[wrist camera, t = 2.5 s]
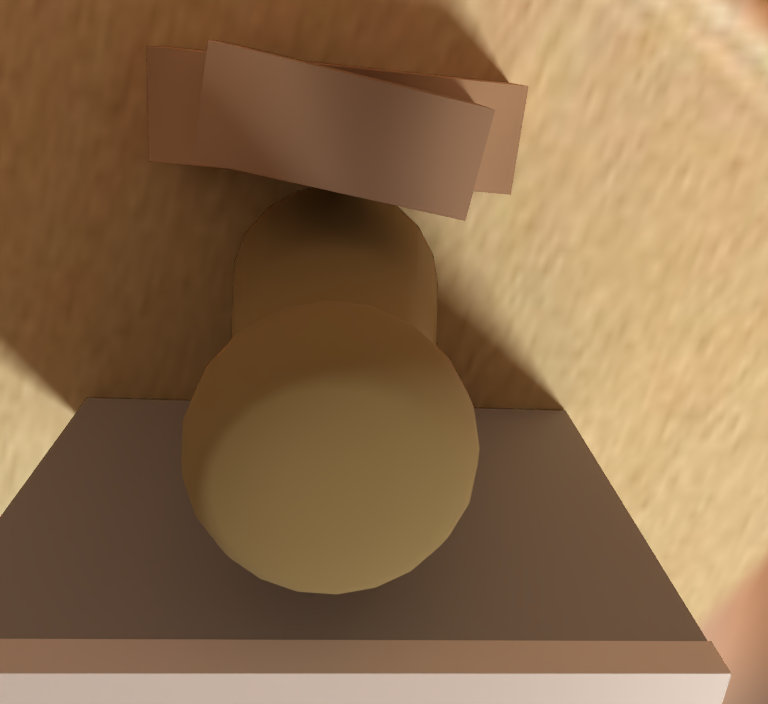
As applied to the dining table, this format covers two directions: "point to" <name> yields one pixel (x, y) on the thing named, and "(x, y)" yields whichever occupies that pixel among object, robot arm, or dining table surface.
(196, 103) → the offcut low
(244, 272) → the cork
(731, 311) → the dining table surface
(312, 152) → the offcut top
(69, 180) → the dining table surface
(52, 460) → the board
